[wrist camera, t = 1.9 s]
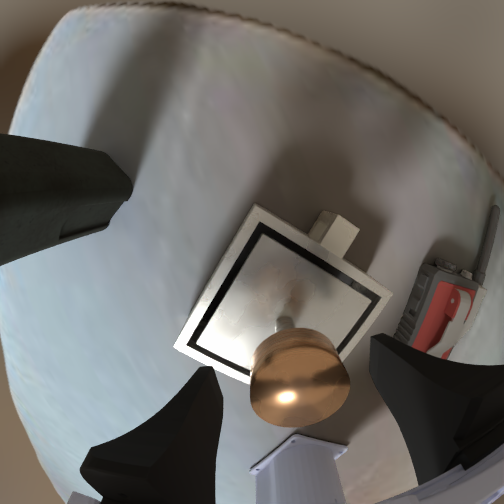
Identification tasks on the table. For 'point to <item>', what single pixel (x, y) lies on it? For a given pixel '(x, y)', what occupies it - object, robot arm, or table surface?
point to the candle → (54, 194)
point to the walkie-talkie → (445, 302)
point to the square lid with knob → (286, 333)
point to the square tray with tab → (317, 242)
